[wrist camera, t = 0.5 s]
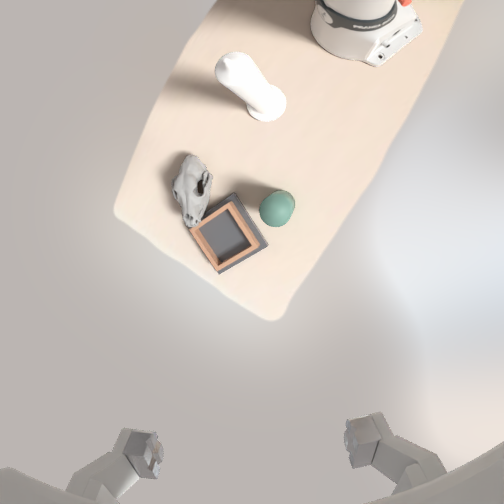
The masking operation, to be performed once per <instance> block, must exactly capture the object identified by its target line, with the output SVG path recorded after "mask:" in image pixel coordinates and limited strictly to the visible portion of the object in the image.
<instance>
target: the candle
mask: <svg viewBox="0 0 504 504" xmlns="http://www.w3.org/2000/svg"><path fill="white" fill-rule="evenodd" d="M215 75H216V78H217V80H218V81H219V82H220V83H221V84H223V85H224V86H225V87H227V88H228V89H229V90H231V91H232V92H233V93H235V94H236V95H237V96H238V97H240V98H241V99H242V100H244V101H245V102H246V104H247V109H248V111H249V113H250V114H251V115H252V116H253V117H254V118H255V119H257V120H260V121H264V122H268V121H273V120H275V119H277V118H279V117H280V116H281V115H282V114H283V112H284V110H285V107H286V98H285V96H284V94H283V92H282V91H281V90H280V89H279V88H277V87H275V86H273V85H269V84H268V82H267V81H266V79H265V78H264V76H263V75H262V73H261V72H260V70H259V69H258V67H257V66H256V65H255V63H254V62H253V60H252V59H251V58H250V57H249V56H248V55H247V54H245V53H242V52H230V53H228V54H226V55H224V56H222V57H221V58H220V59H219V61H218V62H217V64H216V67H215Z"/></svg>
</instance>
